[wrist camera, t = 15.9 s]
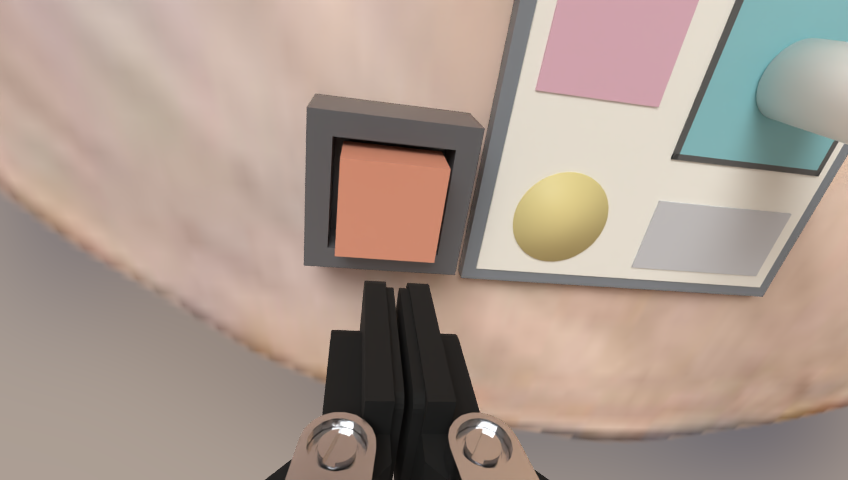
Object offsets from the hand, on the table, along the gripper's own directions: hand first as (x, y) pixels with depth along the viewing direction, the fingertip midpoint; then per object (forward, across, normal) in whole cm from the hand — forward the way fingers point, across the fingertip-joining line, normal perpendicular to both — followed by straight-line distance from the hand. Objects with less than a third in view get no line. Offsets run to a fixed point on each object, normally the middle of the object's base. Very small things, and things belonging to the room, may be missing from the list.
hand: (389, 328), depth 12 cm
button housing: (+11, 0, 0) cm, 11 cm away
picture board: (+11, -14, -4) cm, 19 cm away
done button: (+9, 0, 0) cm, 9 cm away
